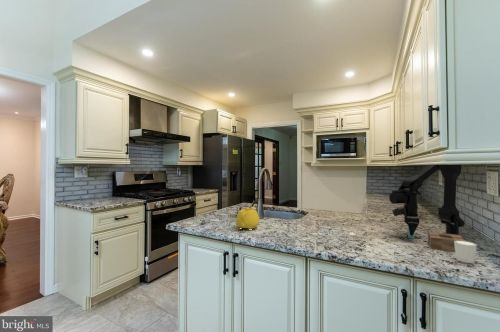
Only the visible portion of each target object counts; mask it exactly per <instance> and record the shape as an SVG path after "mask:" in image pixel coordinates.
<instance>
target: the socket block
mask: <svg viewBox="0 0 500 332" xmlns="http://www.w3.org/2000/svg"><path fill="white" fill-rule="evenodd" d="M427 232H428V234H427V237H428V239H427V240H428V241H427V242H428V244H429V248H430V249H432V250H437V251H444V252H451V253H452V252H453V253H455V246H454V241H466V240H465V239H464V238H463V237H462V236H461V235H454V234H445V233H446V232H434V231H427Z"/></svg>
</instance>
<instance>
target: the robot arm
mask: <svg viewBox="0 0 500 332" xmlns="http://www.w3.org/2000/svg"><path fill="white" fill-rule="evenodd" d="M438 171H440V173H441V175H442V177H443V179H444V183H443V184H444V185H443V205H442V206H441V207H438V208H437V209H438V211H437V212H438V213H437V216H438V218H439V219H440V222H441V224H445V232H444V233H445V234H454V235H460V228H462V227H465V223H466V222H465V221H464V220H463V219H462V217H461V216H460V211H459V210H458V208H457V205H456V201H457V200H456V199H457V179H458V178H459V177H460V175H461V173H462V165H461V164H460V165H429V164H428V165H426V166H425V167H424V168H423V169H422V170H420V171H418V173H416V174H414V175H412V176H409V177H407V178H405V179H403V181H402V182H401V185H400V186H399V188H398V189H397V190H392V191H391V193H390V195H389V197H388V199H389V202H390V203H391V204H394V205H395V204H403V207H397V208H393V209H392V210H391V212H392V213H393V216H394V217H398V216H401V215H403V218H404V219H403V220H404V223H405V224H406V226H407V228H408V227H409V231H410V235H413V234H414V232H416V230H417V229H418V226H419V224H420V223H421V222H420V218H419V214H418V213H419V212H418V211H419V210H418V208H419V205H418V203H419V202H418V196H421V195H422V193H421V192H420V191H419V190H420V188H421V187H422V186H423V184H424V182H425V181H426V180H428V179H429V178H430V177H431V176H432V175H434V174H435V173H436V172H438ZM460 236H461V235H460Z"/></svg>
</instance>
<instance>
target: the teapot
mask: <svg viewBox="0 0 500 332" xmlns="http://www.w3.org/2000/svg"><path fill="white" fill-rule="evenodd" d="M260 223H261V222H260V216H259V214H258V212H257V210H256V209H255V206H251V208H250V207H245V209H244V208H243V209H240V210H239V211H238V213H237V215H236V219H235V225H236V226H237V228H243V229H248V230H249V229H256V228H257V227H258V226H259V225H260ZM255 227H256V228H255Z"/></svg>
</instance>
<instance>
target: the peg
mask: <svg viewBox="0 0 500 332" xmlns="http://www.w3.org/2000/svg"><path fill="white" fill-rule="evenodd" d="M415 232H416V231H415ZM415 232H414V234H413V235H410V231H409V227H408V226H407V239H411V240H414V239H415V238H416V237H415V236H416V235H415V234H416V233H415Z"/></svg>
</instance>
